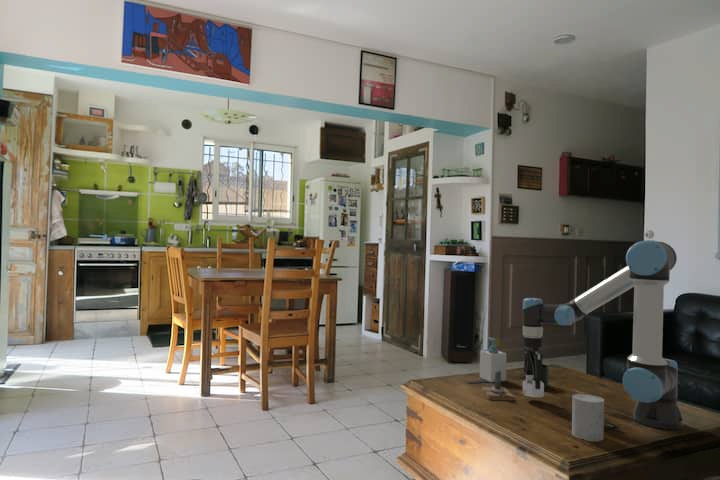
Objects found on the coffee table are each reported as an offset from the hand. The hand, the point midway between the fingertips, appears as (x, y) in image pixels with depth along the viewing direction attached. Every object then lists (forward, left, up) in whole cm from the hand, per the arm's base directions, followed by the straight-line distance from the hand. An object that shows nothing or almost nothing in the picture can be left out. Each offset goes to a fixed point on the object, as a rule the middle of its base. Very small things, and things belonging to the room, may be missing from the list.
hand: (533, 393), depth 188 cm
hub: (0, 0, 0) cm, 0 cm away
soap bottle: (+33, +8, -3) cm, 34 cm away
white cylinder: (-34, -5, -3) cm, 35 cm away
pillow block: (+7, +13, -3) cm, 14 cm away
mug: (+24, -9, -3) cm, 26 cm away
